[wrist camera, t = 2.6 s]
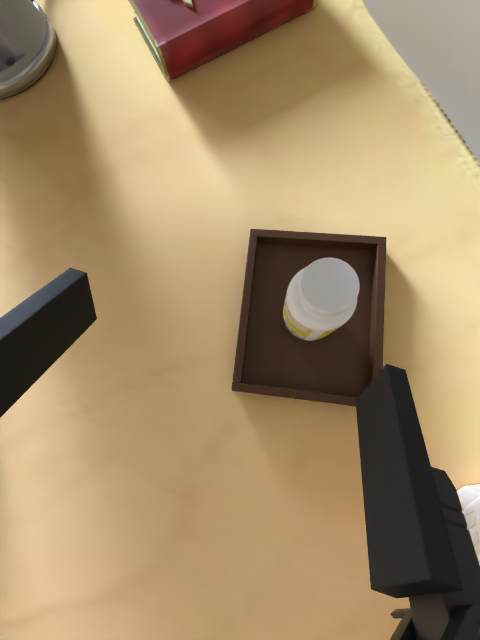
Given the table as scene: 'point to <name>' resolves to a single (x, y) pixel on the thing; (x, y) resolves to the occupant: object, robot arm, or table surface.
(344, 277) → the supplement bottle
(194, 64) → the hardcover book
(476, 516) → the white cup
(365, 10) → the table surface
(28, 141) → the table surface
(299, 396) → the tray
